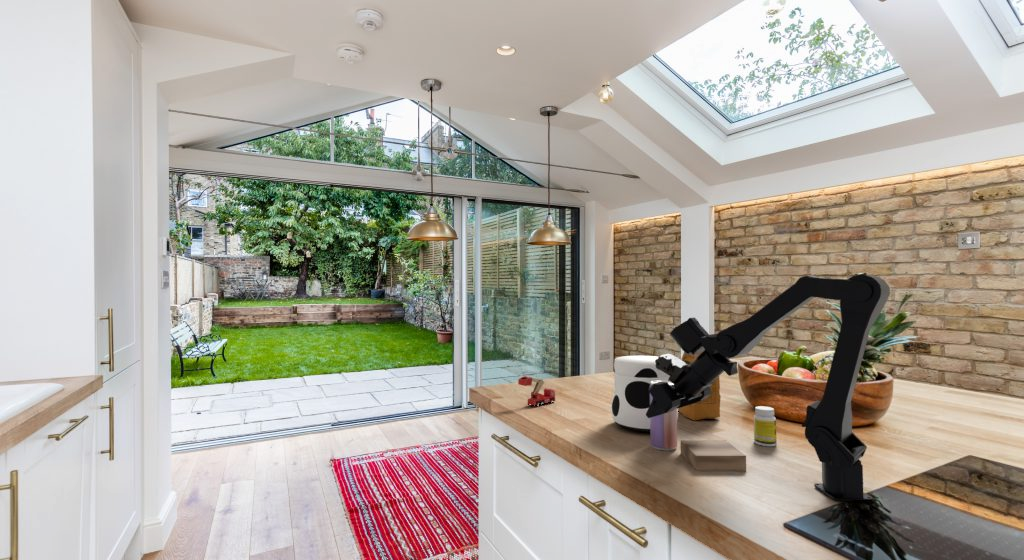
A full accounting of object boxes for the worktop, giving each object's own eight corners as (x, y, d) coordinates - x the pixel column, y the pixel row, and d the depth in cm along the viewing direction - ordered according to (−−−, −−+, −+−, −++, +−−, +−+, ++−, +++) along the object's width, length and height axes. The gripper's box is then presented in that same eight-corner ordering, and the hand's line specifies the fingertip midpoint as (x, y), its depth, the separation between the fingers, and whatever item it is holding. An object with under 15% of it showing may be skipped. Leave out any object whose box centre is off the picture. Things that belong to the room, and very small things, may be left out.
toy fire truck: (556, 402, 157) (556, 373, 157) (525, 410, 148) (525, 378, 148) (549, 401, 159) (549, 371, 160) (518, 408, 151) (517, 377, 151)
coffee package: (705, 410, 146) (704, 337, 146) (725, 421, 133) (723, 341, 134) (673, 410, 145) (672, 337, 146) (689, 422, 133) (688, 342, 133)
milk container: (623, 415, 141) (622, 353, 141) (684, 423, 132) (683, 357, 132) (602, 430, 126) (601, 361, 126) (670, 440, 117) (668, 366, 117)
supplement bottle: (779, 447, 111) (778, 411, 111) (757, 446, 112) (756, 410, 112) (772, 441, 116) (772, 405, 116) (751, 440, 117) (750, 405, 117)
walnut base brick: (746, 470, 97) (746, 455, 97) (696, 470, 98) (696, 455, 98) (726, 453, 107) (725, 440, 107) (680, 453, 108) (680, 440, 108)
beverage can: (650, 450, 110) (649, 384, 111) (650, 442, 116) (649, 379, 116) (677, 452, 109) (676, 385, 109) (676, 444, 114) (675, 380, 115)
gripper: (697, 340, 116) (657, 379, 124) (655, 347, 103) (614, 390, 111) (731, 377, 110) (686, 416, 118) (691, 389, 98) (644, 432, 106)
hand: (658, 412), depth 113 cm, fingers open, 9 cm apart
